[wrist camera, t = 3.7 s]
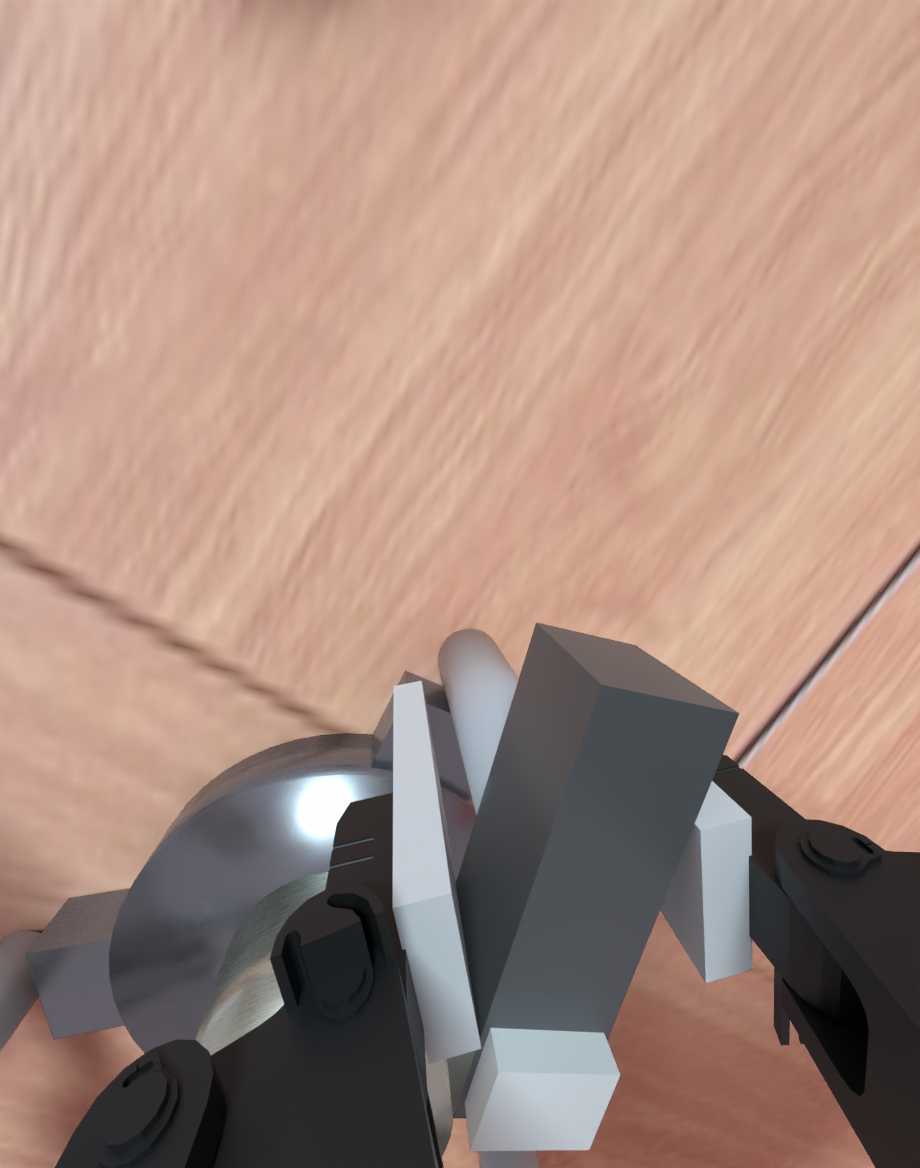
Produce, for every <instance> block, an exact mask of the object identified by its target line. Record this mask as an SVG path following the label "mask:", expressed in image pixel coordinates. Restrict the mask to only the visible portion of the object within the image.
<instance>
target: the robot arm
mask: <svg viewBox="0 0 920 1168" xmlns="http://www.w3.org/2000/svg"><path fill="white" fill-rule="evenodd" d="M660 911H661V912H662V914H663V916H664V917H665V919H666V920H667V922H668V924H669V925H670V927H671V928H672V930H673V932H674V933H675V935H676V936H677V938H678V939H679V941H680V943H681V944H682V946H683V947H684V949H685V951H686V952H687V954H688V955H689V957H690V959H691V960H692V962H693V963H694V965H695V967H696V968H697V970H698V971H699V973H700V975H701V976H702V978H703V979H704V981H705V983H708V982H712V981H715V980H719V979H722V978H726V977H729V976H732V975H736V974H739V973H743V972H746V971H750V970H752V939H753V941H754V942H755V943H756V944H757V946H758V947H759V948H760V949H761V951H762V952H763V953H764V954H765V956H766V957H767V958H768V960H769V961H770V962H771V963H772V965H773V966H774V1027H775V1030H776V1033H777V1036H778V1038H779V1041H780V1044H781V1045H789V1028H790V1020H791V1022H792V1024H793V1026H794V1027H795V1029H796V1031H797V1033H798V1034H799V1041H800V1043H801V1044H804V1045H805V1046H806V1048H807V1050H808V1052H809V1053H810V1055H811V1057H812V1058H813V1060H814V1062H815V1064H816V1065H817V1067H818V1069H819V1071H820V1072H821V1074H822V1076H823V1077H824V1079H825V1081H826V1083H827V1084H828V1086H829V1088H830V1090H831V1091H832V1093H833V1095H834V1096H835V1098H836V1100H837V1102H838V1103H839V1105H840V1107H841V1109H842V1110H843V1112H844V1114H845V1116H846V1117H847V1119H848V1121H849V1122H850V1124H851V1126H852V1128H853V1129H854V1131H855V1133H856V1135H857V1136H858V1138H859V1140H860V1141H861V1143H862V1145H863V1147H864V1148H865V1150H866V1152H867V1154H868V1155H869V1157H870V1159H871V1160H872V1162H873V1164H874V1166H875V1167H876V1168H920V853H918V852H892V851H885V850H884V849H882V848H881V847H879V846H878V845H877V844H875V843H874V842H873V841H871V840H870V839H868V838H867V837H866V836H864V835H861V834H859V833H857V832H855V831H853V830H851V829H848V828H846V827H844V826H841V825H837V824H833V823H829V822H825V821H822V820H806V819H805V818H803V817H802V816H801V815H800V814H798V813H797V812H796V811H795V810H793V809H792V808H791V807H790V806H788V805H787V804H786V803H785V802H784V801H782V800H781V799H780V798H779V797H777V796H776V795H775V794H774V793H772V792H771V791H770V790H769V789H767V788H766V787H765V786H764V785H762V784H761V783H760V782H759V781H758V780H756V779H755V778H754V777H753V776H751V775H750V774H749V773H748V772H746V771H745V770H744V769H743V768H742V769H740V768H739V765H738V764H736V763H735V762H734V761H733V760H732V759H730V758H729V757H728V756H727V755H725V756H724V755H722V757H721V760H720V762H719V765H718V767H717V770H716V772H715V775H714V777H713V780H712V782H711V785H710V787H709V789H708V792H707V794H706V797H705V799H704V802H703V804H702V807H701V809H700V812H699V814H698V817H697V819H696V822H695V824H694V827H693V829H692V832H691V834H690V837H689V839H688V841H687V844H686V846H685V849H684V851H683V854H682V856H681V859H680V861H679V864H678V866H677V869H676V871H675V874H674V876H673V879H672V881H671V884H670V886H669V889H668V891H667V893H666V896H665V898H664V901H663V903H662V906H661V908H660ZM270 961H271V964H272V967H273V970H274V974H275V977H276V980H277V983H278V986H279V989H280V992H281V995H282V999H283V1002H284V1005H283V1006H282V1007H281V1008H280V1009H279V1010H278V1011H277V1012H276V1013H275V1014H274V1015H273V1016H271V1017H270V1018H269V1019H267V1020H266V1021H264V1022H263V1023H262V1024H260V1025H259V1026H258V1027H256V1028H255V1029H253V1030H251V1031H250V1032H248V1033H247V1034H245V1035H243V1036H242V1037H240V1038H238V1039H237V1040H235V1041H234V1042H232V1043H230V1044H229V1045H227V1046H226V1047H224V1048H222V1049H221V1050H219V1051H217V1052H216V1053H214V1054H213V1055H210V1053H209V1051H208V1050H207V1049H206V1048H204V1047H203V1046H202V1045H201V1044H200V1043H199V1042H198V1041H197V1040H180V1039H176V1040H173V1041H171V1042H168V1043H166V1044H163V1045H161V1046H158V1047H155V1048H153V1049H151V1050H149V1051H148V1052H147V1053H145V1054H144V1055H143V1056H141V1057H140V1058H138V1059H137V1060H136V1061H134V1062H133V1063H132V1064H130V1065H129V1066H127V1067H126V1068H125V1069H123V1071H122V1072H121V1073H120V1074H119V1075H118V1076H117V1077H116V1078H115V1079H114V1080H113V1081H112V1082H111V1083H110V1084H109V1085H108V1086H107V1087H106V1088H105V1090H104V1091H103V1092H102V1093H101V1094H100V1095H99V1096H98V1097H97V1098H96V1100H95V1101H94V1103H93V1104H92V1106H91V1107H90V1109H89V1110H88V1112H87V1113H86V1115H85V1116H84V1118H83V1119H82V1121H81V1122H80V1124H79V1125H78V1127H77V1128H76V1130H75V1131H74V1133H73V1135H72V1137H71V1139H70V1141H69V1142H68V1144H67V1146H66V1148H65V1150H64V1152H63V1153H62V1155H61V1157H60V1159H59V1161H58V1163H57V1165H56V1166H55V1168H444V1167H443V1162H442V1157H441V1152H440V1147H439V1142H438V1137H437V1132H436V1127H435V1122H434V1116H433V1111H432V1107H431V1103H430V1099H429V1095H428V1090H427V1076H426V1058H425V1051H426V1055H427V1059H428V1064H431V1063H434V1062H438V1061H441V1060H444V1059H448V1058H451V1057H455V1056H458V1055H461V1054H465V1053H468V1052H472V1051H475V1050H479V1049H481V1043H480V1037H479V1030H478V1024H477V1017H476V1011H475V1004H474V998H473V992H472V985H471V979H470V972H469V966H468V959H467V953H466V946H465V940H464V933H463V927H462V921H461V914H460V908H459V901H458V895H457V888H456V881H455V875H454V869H453V862H452V856H451V849H450V843H449V836H448V830H447V823H446V817H445V810H444V804H443V798H442V791H441V785H440V778H439V772H438V766H437V760H436V755H435V750H434V744H433V739H432V734H431V728H430V723H429V718H428V712H427V707H426V701H425V696H424V691H423V685H422V681H417V682H412V683H407V684H402V685H397V686H394V704H393V793H389V794H385V795H380V796H376V797H371V798H367V799H363V800H358V801H354V802H350V804H349V805H348V807H347V808H346V810H345V811H344V813H343V814H342V816H341V817H340V819H339V821H338V822H337V824H336V830H335V836H334V842H333V850H332V853H331V859H330V870H329V871H328V877H327V882H326V888H325V890H324V891H322V892H320V893H318V894H317V895H315V896H313V897H311V898H309V899H307V900H306V901H305V902H304V903H303V904H302V905H301V906H300V907H299V908H298V909H297V910H295V911H294V912H293V913H292V914H291V915H290V916H289V918H288V919H287V921H286V922H285V924H284V925H283V927H282V928H281V930H280V931H279V933H278V934H277V936H276V939H275V942H274V946H273V949H272V953H271V956H270Z"/></svg>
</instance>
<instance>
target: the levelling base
mask: <svg viewBox="0 0 920 1168" xmlns="http://www.w3.org/2000/svg"><path fill="white" fill-rule="evenodd" d="M417 681H422V685H423V691H424V696H425V701H426V707H427V712H428V718H429V723H430V728H431V734H432V739H433V744H434V750H435V755H436V760H437V766H438V772H439V778H440V785H441V791H442V798H443V804H444V810H445V817H446V823H447V830H448V836H449V843H450V849H451V856H452V862H453V869H454V875H455V881H456V880H457V877H458V874H459V871H460V867H461V864H462V861H463V858H464V854H465V851H466V848H467V845H468V842H469V838H470V835H471V832H472V829H473V825H474V822H475V819H476V816H477V815H476V812H475V808H474V804H473V800H472V796H471V792H470V788H469V784H468V780H467V776H466V772H465V768H464V764H463V760H462V756H461V752H460V748H459V744H458V740H457V736H456V732H455V728H454V724H453V721H452V717H451V713H450V709H449V705H448V701H447V697H446V693H445V689H444V687H443V686H441V685H438V684H436V683H433V682H431V681H429V680H426V679H424V678H421V677H419V676H416V675H414V674H411V673H409V672H406V671H405V672H404V674H403V676H402V678H401V680H400V682H399V684H398V685H402V684H407V683H412V682H417ZM393 704H394V694H393V696H392V698H391V700H390V702H389V704H388V706H387V708H386V710H385V712H384V714H383V716H382V718H381V720H380V722H379V724H378V726H377V728H376V730H375V732H374V734H373V735H368V734H349V733H346V734H331V735H320V736H314V737H309V738H303V739H298V740H294V741H290V742H287V743H284V744H280V745H277V746H274V747H271V748H268V749H266V750H264V751H261V752H259V753H257V754H255V755H252V756H250V757H248V758H246V759H244V760H242V761H241V762H239V763H237V764H236V765H234V766H232V767H230V768H229V769H227V770H225V771H224V772H222V773H221V774H220V775H219V776H217V777H216V778H215V779H213V780H212V781H211V782H210V783H208V784H207V785H206V786H204V787H203V788H202V789H201V790H200V791H199V792H198V793H197V794H196V795H195V796H194V797H193V798H192V799H191V800H190V801H189V802H188V803H187V805H186V806H185V807H184V809H183V810H182V811H181V813H180V814H179V815H178V817H177V818H176V819H175V821H174V822H173V823H172V825H171V826H170V828H169V829H168V831H167V832H166V834H165V835H164V837H163V838H162V840H161V841H160V843H159V845H158V846H157V848H156V849H155V851H154V852H153V854H152V855H151V857H150V858H149V860H148V861H147V863H146V864H145V866H144V867H143V869H142V870H141V872H140V873H139V875H138V876H137V878H136V880H135V881H134V883H133V885H132V886H131V888H130V889H125V890H119V891H113V892H106V893H100V894H94V895H87V896H81V897H75V898H69V899H68V900H67V901H66V903H65V904H64V905H63V906H62V908H61V909H60V910H59V911H58V913H57V914H56V915H55V917H54V918H53V919H52V920H51V922H50V923H49V924H48V925H47V927H46V928H45V929H44V931H43V932H42V933H41V934H40V936H39V937H38V938H37V939H36V941H35V942H34V943H33V944H32V946H31V947H30V948H29V950H28V951H27V952H26V953H25V955H26V958H27V961H28V964H29V967H30V970H31V973H32V976H33V979H34V982H35V985H36V988H37V991H38V994H39V997H40V1000H41V1003H42V1006H43V1009H44V1012H45V1015H46V1018H47V1021H48V1024H49V1027H50V1030H51V1033H52V1036H53V1039H57V1038H63V1037H68V1036H73V1035H78V1034H83V1033H88V1032H94V1031H99V1030H104V1029H109V1028H114V1027H119V1026H125V1027H126V1028H127V1030H128V1032H129V1033H130V1035H131V1037H132V1038H133V1040H134V1041H135V1042H136V1043H137V1045H138V1046H139V1047H140V1048H141V1049H142V1050H143V1052H144V1053H147V1052H148V1051H149V1050H151V1049H153V1048H155V1047H158V1046H161V1045H163V1044H166V1043H168V1042H171V1041H173V1040H176V1039H180V1040H197V1041H198V1042H199V1043H200V1044H201V1045H202V1046H203V1047H204V1048H206V1049H207V1050H208V1051H209V1053H210V1055H213V1054H214V1053H216V1052H217V1051H219V1050H221V1049H222V1048H224V1047H226V1046H227V1045H229V1044H230V1043H232V1042H234V1041H235V1040H237V1039H238V1038H240V1037H242V1036H243V1035H245V1034H247V1033H248V1032H250V1031H251V1030H253V1029H255V1028H256V1027H258V1026H259V1025H260V1024H262V1023H263V1022H264V1021H266V1020H267V1019H269V1018H270V1017H271V1016H273V1015H274V1014H275V1013H276V1012H277V1011H278V1010H279V1009H280V1008H281V1007H282V1006H283V1005H284V1002H283V999H282V995H281V992H280V989H279V986H278V983H277V980H276V977H275V974H274V970H273V967H272V964H271V961H270V956H271V953H272V949H273V946H274V942H275V939H276V936H277V934H278V933H279V931H280V930H281V928H282V927H283V925H284V924H285V922H286V921H287V919H288V918H289V916H290V915H291V914H292V913H293V912H294V911H295V910H297V909H298V908H299V907H300V906H301V905H302V904H303V903H304V902H305V901H306V900H307V899H309V898H311V897H313V896H315V895H317V894H318V893H320V892H322V891H324V890H325V888H326V882H327V877H328V871H329V870H330V859H331V853H332V850H333V842H334V836H335V830H336V824H337V822H338V821H339V819H340V817H341V816H342V814H343V813H344V811H345V810H346V808H347V807H348V805H349V804H350V802H354V801H358V800H363V799H367V798H371V797H376V796H380V795H385V794H389V793H393ZM425 1058H426V1076H427V1090H428V1095H429V1099H430V1103H431V1107H432V1111H433V1116H434V1122H435V1127H436V1132H437V1137H438V1142H439V1147H440V1152H441V1157H442V1155H443V1153H444V1151H445V1149H446V1147H447V1144H448V1141H449V1138H450V1135H451V1130H452V1124H453V1115H452V1105H451V1094H450V1083H449V1073H448V1062H447V1059H444V1060H441V1061H438V1062H434V1063H431V1064H428V1059H427V1055H426V1051H425Z"/></svg>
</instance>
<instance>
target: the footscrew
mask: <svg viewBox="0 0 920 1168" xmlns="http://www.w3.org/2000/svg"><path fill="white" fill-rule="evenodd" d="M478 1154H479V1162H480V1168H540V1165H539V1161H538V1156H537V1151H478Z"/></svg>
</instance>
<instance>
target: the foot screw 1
mask: <svg viewBox="0 0 920 1168" xmlns="http://www.w3.org/2000/svg"><path fill="white" fill-rule="evenodd" d="M40 934H41V933H38V932H32V931H22V932H16V933H13V934H10V935H8V936H6V937H4V938H3V939H1V940H0V1051H1V1050H2V1048H3V1047H4V1046H5V1044H6V1043H7V1041H8V1040H9V1038H10V1037H11V1036H12V1034H13V1033H14V1031H15V1030H16V1028H17V1027H18V1025H19V1024H20V1023H21V1021H22V1020H23V1018H24V1017H25V1015H26V1014H27V1013H28V1011H29V1010H30V1008H31V1007H32V1005H33V1004H34V1002H35V1001H36V1000H37V998H38V997H39V994H38V991H37V988H36V985H35V982H34V979H33V976H32V973H31V970H30V967H29V964H28V961H27V958H26V955H25V953H26V952H27V951H28V950H29V948H30V947H31V946H32V944H33V943H34V942H35V941H36V939H37V938H38V937H39V936H40Z"/></svg>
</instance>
